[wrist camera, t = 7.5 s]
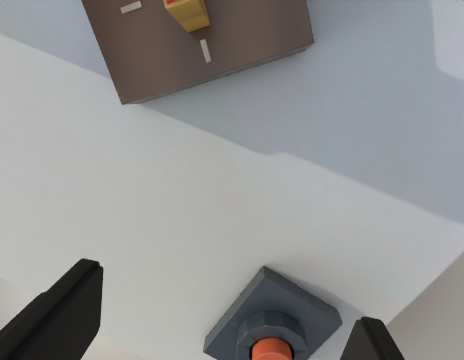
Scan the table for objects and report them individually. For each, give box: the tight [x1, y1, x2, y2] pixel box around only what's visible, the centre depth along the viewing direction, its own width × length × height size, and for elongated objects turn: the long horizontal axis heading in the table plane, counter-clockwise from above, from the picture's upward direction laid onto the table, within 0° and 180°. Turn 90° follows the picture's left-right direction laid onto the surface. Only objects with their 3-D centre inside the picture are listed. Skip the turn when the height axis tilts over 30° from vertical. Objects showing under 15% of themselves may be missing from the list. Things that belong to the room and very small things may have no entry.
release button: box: [252, 336, 292, 360], centre depth 25 cm, size 4×4×2 cm
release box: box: [203, 266, 343, 360], centre depth 27 cm, size 11×9×4 cm
